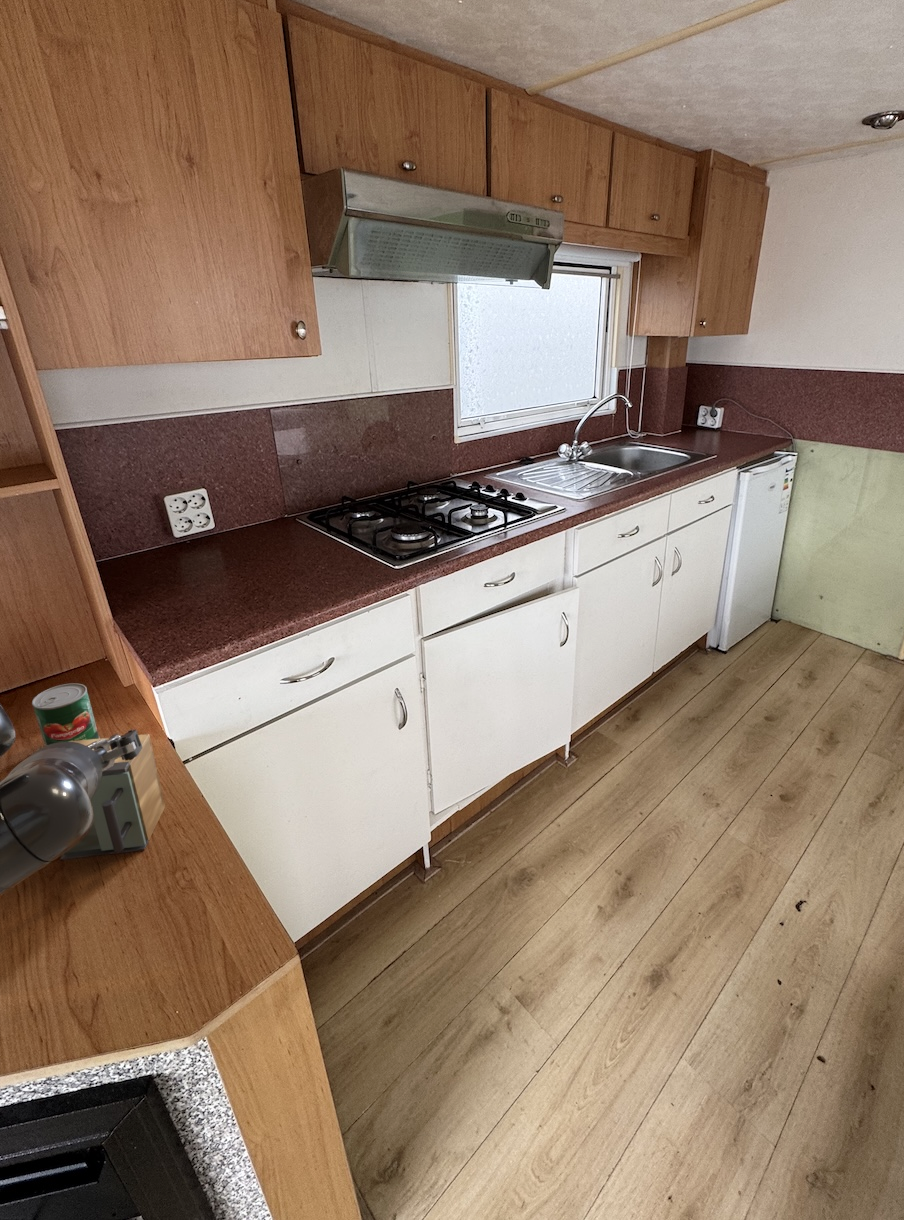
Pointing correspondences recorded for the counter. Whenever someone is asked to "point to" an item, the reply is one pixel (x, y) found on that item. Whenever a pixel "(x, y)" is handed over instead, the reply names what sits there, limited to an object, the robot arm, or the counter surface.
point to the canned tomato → (65, 714)
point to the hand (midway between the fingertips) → (78, 757)
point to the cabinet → (145, 795)
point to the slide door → (117, 813)
